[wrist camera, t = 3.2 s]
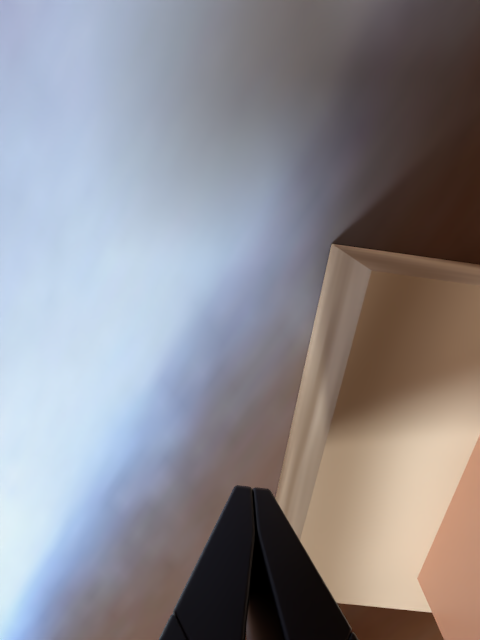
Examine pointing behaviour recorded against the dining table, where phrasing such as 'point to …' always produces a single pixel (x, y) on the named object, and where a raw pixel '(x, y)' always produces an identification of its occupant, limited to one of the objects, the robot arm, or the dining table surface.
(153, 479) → the dining table surface
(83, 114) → the dining table surface
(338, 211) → the dining table surface
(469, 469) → the pink block
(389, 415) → the birch step
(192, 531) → the dining table surface
